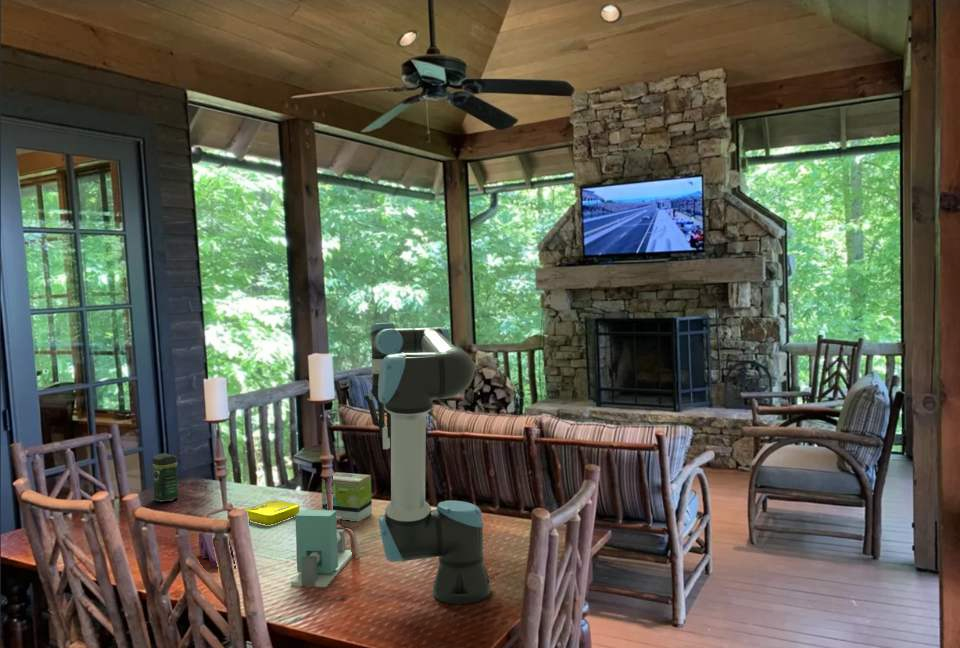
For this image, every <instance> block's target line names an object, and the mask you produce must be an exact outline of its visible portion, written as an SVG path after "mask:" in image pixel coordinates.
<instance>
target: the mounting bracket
mask: <svg viewBox="0 0 960 648" xmlns="http://www.w3.org/2000/svg"><path fill="white" fill-rule="evenodd" d="M229 545H230V550H231V553H232V555H231V557H232V558H231V559H233V563H234V564H235V560H234V555H233V550H232V546H231V542H230V539H229ZM198 548H199V553H200V556H201V555H202V556H203V557H204V558H205V557H209V558H208V559H209V562H210V564H211V565H212V566H214V567H215V568H217V563H216V559H215V554H214V549H213V543H212V535H207V534H201V533H198ZM231 553H230V554H231ZM205 559H206V558H205Z"/></svg>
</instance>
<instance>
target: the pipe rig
mask: <svg viewBox="0 0 960 648" xmlns="http://www.w3.org/2000/svg"><path fill="white" fill-rule="evenodd" d="M345 535H346V530H345V528H344V529H341V528H337V549H338V567H337V568H336V569H335V570H334V572H333V573H318V569H317V563H318V562H319V561H320V560H322V557H321V551H313V553H312V554H310V555H309V556H304V557H303V558H302V559H301V572H298V574H297V575H296V576H295V577H294V578H293V579H292V580H290V586H291V585H292V586H291V587H302V586H308V587H307V588H315V586H316V588H327V587H328V586H329V585H330V584H331V583H332V581H334V579H335V578H336V577H337V576H338V575H339V573H340V572H341V571H342V570H343V569H344V568H343V567H345V566H347V564H348V563H349V562H350V561H351V560H350V558H351V557H352V552H351V549H349V550H348V549H346V536H345ZM352 558H353V557H352ZM352 558H351V559H352ZM349 560H350V561H349ZM348 561H349V562H348ZM347 562H348V563H347ZM346 563H347V564H346ZM342 568H343V569H342ZM341 569H342V570H341ZM340 570H341V571H340ZM335 576H336V577H335ZM334 577H335V578H334ZM328 584H329V585H328Z"/></svg>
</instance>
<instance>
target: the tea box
mask: <svg viewBox="0 0 960 648" xmlns="http://www.w3.org/2000/svg"><path fill="white" fill-rule="evenodd" d="M332 488H333V489H332V492H333V511H336V516H340V517H341V519H344V520H343V521H345V520H350V521H349V522H353V521H357V522H356V523H360V522H362V521H363V520H364V518H365V519H366V518H368V517H369V516H371V515H372V512H373V510H372V509H373V507H372V505H373V504H372V498H373V497H372V475H371V474H362V473H350V472H349V473H348V472H338V471H337V472H334V475H333V486H332ZM321 501H322V503H321V505H322V506H321V507H322V510H327V503H326V489H325V480H324V479H323V478H321ZM370 514H371V515H370ZM367 516H368V517H367ZM362 519H363V520H362ZM361 520H362V521H361ZM359 521H360V522H359Z"/></svg>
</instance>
